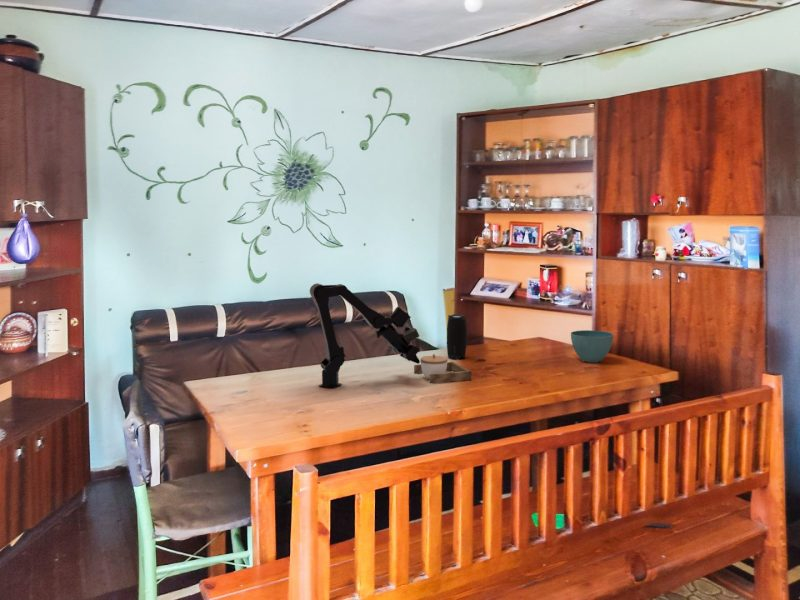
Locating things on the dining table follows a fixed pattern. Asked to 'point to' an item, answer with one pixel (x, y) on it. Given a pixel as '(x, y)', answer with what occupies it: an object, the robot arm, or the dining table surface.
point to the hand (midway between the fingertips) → (419, 362)
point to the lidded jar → (433, 365)
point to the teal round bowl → (591, 344)
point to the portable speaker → (456, 336)
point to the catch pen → (456, 375)
